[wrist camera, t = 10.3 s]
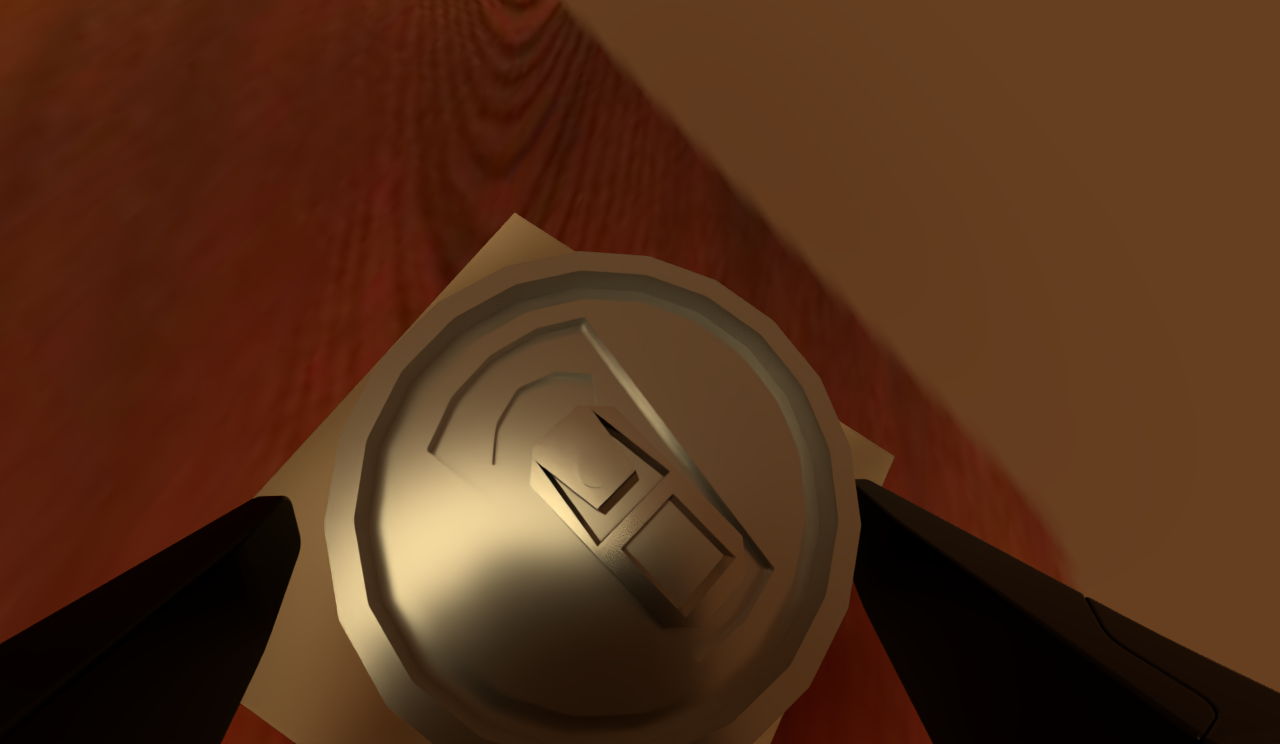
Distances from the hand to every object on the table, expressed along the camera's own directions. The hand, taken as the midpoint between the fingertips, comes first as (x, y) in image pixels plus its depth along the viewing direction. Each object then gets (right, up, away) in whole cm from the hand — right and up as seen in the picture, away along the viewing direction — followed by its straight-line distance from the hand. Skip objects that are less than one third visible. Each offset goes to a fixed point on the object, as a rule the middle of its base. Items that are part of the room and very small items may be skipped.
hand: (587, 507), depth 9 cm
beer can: (-1, -3, +8) cm, 8 cm away
